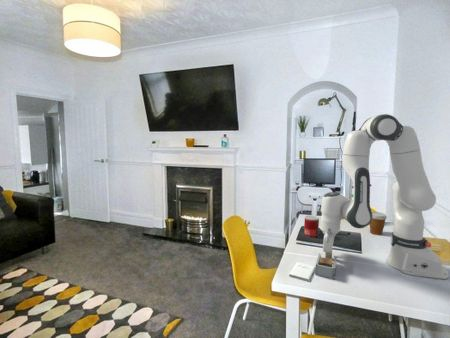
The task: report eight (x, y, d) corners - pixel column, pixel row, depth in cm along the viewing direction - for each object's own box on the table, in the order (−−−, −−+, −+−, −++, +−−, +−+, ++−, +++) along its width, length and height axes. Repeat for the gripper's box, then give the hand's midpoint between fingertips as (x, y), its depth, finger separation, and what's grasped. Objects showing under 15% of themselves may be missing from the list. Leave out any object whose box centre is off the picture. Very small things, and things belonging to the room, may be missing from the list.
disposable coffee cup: (368, 234, 156) (369, 215, 155) (366, 229, 165) (367, 210, 163) (386, 237, 153) (388, 217, 151) (383, 231, 162) (385, 212, 160)
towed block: (334, 258, 127) (334, 248, 126) (331, 275, 111) (331, 264, 110) (323, 255, 129) (323, 246, 128) (318, 272, 113) (319, 261, 113)
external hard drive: (288, 277, 111) (296, 264, 122) (308, 283, 107) (315, 269, 118) (289, 273, 111) (297, 261, 122) (308, 279, 107) (315, 266, 117)
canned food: (319, 238, 151) (319, 219, 150) (304, 237, 153) (305, 218, 151) (317, 233, 159) (318, 215, 157) (303, 232, 160) (304, 214, 159)
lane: (336, 266, 119) (336, 256, 119) (334, 279, 109) (334, 269, 108) (318, 262, 123) (319, 253, 122) (315, 274, 112) (315, 264, 112)
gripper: (335, 234, 114) (333, 264, 116) (338, 220, 132) (336, 246, 134) (320, 232, 117) (318, 261, 118) (325, 219, 135) (323, 244, 137)
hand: (328, 253), depth 126 cm, fingers open, 7 cm apart
